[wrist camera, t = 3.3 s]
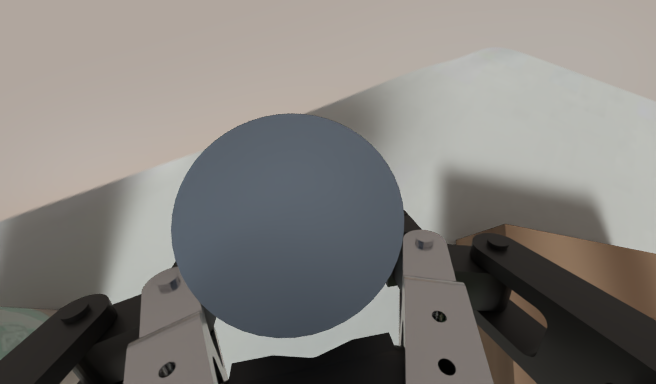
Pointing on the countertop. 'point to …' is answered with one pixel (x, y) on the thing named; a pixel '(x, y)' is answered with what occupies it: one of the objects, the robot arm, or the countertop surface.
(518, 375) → the socket block
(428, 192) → the countertop surface
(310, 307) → the dowel
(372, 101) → the countertop surface
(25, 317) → the coffee cup
